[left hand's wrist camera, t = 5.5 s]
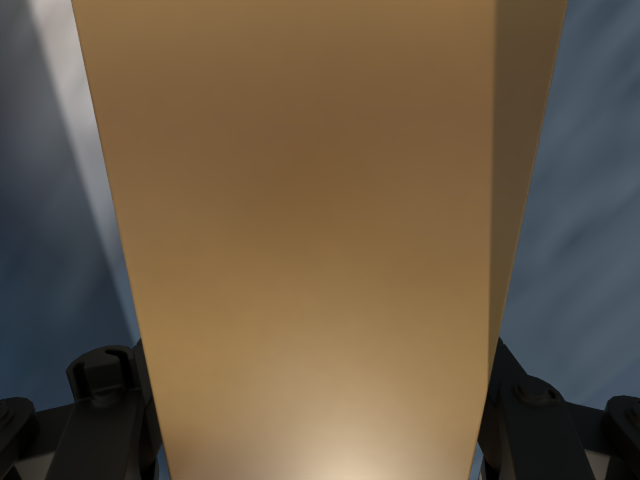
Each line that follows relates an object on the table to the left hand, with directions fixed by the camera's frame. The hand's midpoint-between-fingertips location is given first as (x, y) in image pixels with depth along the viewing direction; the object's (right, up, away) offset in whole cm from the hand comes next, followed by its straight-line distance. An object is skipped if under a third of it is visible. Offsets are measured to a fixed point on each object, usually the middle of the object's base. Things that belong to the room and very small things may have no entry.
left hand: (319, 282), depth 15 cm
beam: (0, +19, -7) cm, 20 cm away
